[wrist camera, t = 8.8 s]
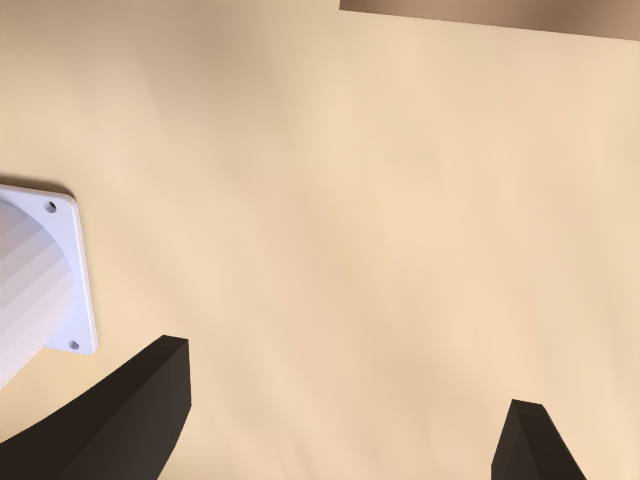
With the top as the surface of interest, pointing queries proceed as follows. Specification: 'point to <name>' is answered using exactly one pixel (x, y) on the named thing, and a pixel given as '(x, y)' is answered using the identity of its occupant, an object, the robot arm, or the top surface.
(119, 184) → the top surface
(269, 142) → the top surface
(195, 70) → the top surface
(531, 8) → the brown rectangular slab
